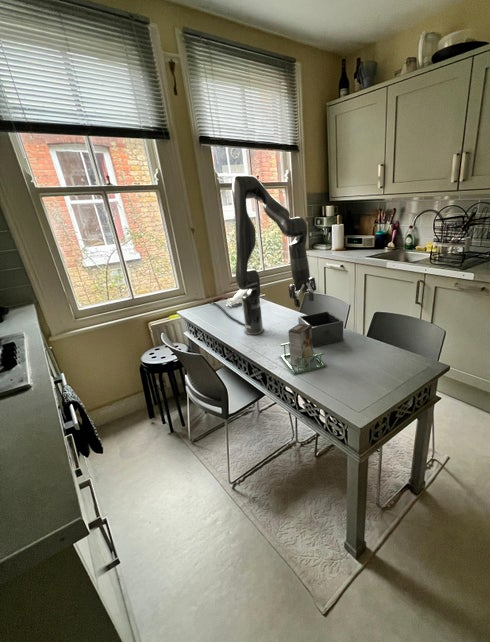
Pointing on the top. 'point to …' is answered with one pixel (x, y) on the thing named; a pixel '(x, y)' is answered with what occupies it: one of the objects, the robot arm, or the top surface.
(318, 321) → the grey open box
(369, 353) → the top surface
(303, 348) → the coffee box
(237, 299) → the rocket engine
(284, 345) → the dish rack
